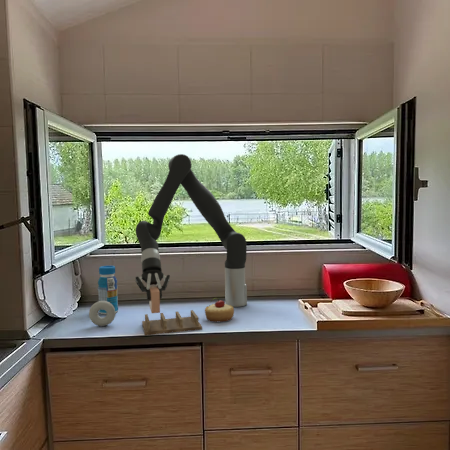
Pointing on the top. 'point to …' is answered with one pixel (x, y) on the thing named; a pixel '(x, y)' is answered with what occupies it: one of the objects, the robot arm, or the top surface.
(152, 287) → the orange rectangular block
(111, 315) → the donut
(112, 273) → the beverage bottle
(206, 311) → the pastry
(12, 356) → the top surface
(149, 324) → the dish stand
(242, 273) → the robot arm
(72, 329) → the top surface
